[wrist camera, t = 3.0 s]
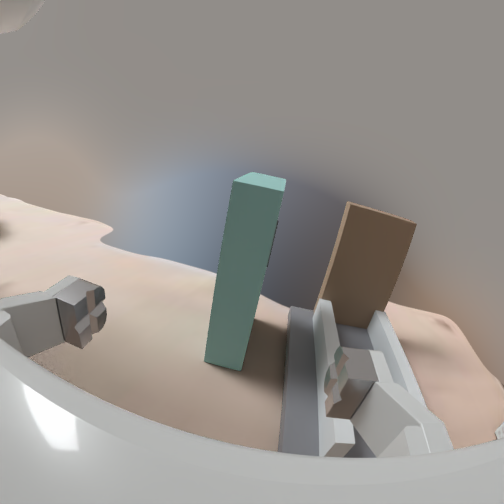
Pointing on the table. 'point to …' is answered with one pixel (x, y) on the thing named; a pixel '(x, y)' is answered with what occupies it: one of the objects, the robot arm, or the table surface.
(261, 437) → the table surface
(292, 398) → the track base
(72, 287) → the robot arm
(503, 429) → the supplement box
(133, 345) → the table surface
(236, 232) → the teal rectangular block
